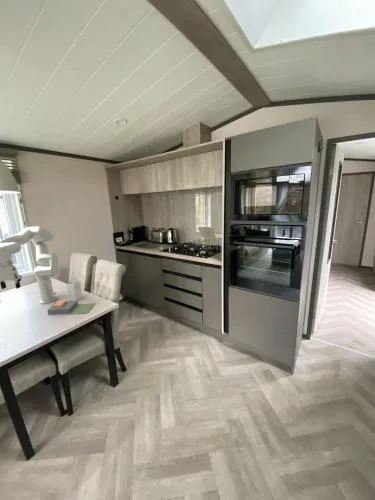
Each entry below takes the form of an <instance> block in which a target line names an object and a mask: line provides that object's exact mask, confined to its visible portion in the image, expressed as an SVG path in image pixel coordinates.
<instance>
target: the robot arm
mask: <svg viewBox="0 0 375 500" xmlns="http://www.w3.org/2000/svg"><path fill="white" fill-rule="evenodd" d="M53 239H54V235H53V232H52V231H50V230H49V229H46V228H45V227H43V226H39V225H38V226H27V227H25V228H23V229H22V230H21V231H19V232H18V233H16V234H14V235H11V236H8V237H5V238H2V239H1V240H0V288H1V290H5V289H7V284H6V282H8V281H10V282H11V281H13V282H14V285H15V289H20V288H22V287H21V280H22V278H23V275H22V274H20V273H19V272H18V268H17V266H16V265H15V264H14V261H13V260H12V256H11V255H12V254H18V253H19V252H20V251H21V249H22V245H25V244H28V242H30V241H31V242H32V244H33V245H34V247H35V256H36V257H35V258H36V260H35V261H36V263H37V264H39V265H37V266H36V267H35V268H34V269H33V274H34V276H35V278H36V282H37V286H38V289H39V294H40V298H41V299H40V300H39V304H42V305H45V304H51V303H53V302H55V301H56V300H57V299H58V298H57V296H55V295H57V292H56V291H54V288H53V283H52V279H51V278H50V277H56V276H57V275H58V273H59V256H58V254H57V253H56V252H54V251H50V252H49V247H48V245H47V244H46V242H51V241H53ZM40 264H41V265H40Z"/></svg>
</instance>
